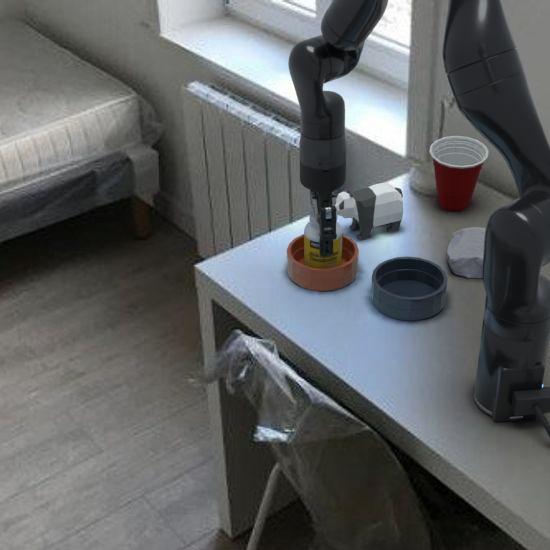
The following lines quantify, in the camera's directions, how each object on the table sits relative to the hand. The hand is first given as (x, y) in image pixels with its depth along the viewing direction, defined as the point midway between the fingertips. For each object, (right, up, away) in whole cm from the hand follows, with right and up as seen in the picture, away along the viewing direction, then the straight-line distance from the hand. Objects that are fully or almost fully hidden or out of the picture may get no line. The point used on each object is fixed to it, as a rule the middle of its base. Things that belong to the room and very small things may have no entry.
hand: (322, 240), depth 165 cm
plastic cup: (+26, +7, +21) cm, 34 cm away
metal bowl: (+14, -10, -4) cm, 18 cm away
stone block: (+27, -3, +5) cm, 28 cm away
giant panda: (+9, +2, +14) cm, 17 cm away
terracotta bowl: (0, -5, +4) cm, 6 cm away
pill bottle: (0, -5, +4) cm, 6 cm away
